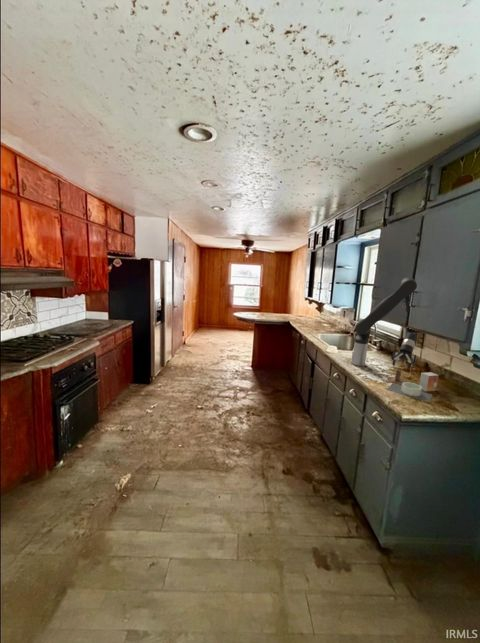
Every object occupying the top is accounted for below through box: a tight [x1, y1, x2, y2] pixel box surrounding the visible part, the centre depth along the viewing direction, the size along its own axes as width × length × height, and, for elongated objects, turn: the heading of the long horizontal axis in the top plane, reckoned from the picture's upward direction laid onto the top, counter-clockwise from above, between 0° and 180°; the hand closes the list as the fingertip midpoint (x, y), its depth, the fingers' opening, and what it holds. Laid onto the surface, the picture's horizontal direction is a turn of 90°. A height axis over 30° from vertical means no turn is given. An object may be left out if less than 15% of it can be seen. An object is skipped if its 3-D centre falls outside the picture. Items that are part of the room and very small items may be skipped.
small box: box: [418, 371, 440, 392], centre depth 179 cm, size 8×6×10 cm
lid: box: [386, 369, 408, 386], centre depth 190 cm, size 12×12×8 cm
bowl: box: [401, 381, 423, 397], centre depth 172 cm, size 10×10×5 cm
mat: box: [386, 383, 433, 403], centre depth 174 cm, size 22×14×1 cm, turn 48°
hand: (400, 367), depth 191 cm, fingers open, 8 cm apart
